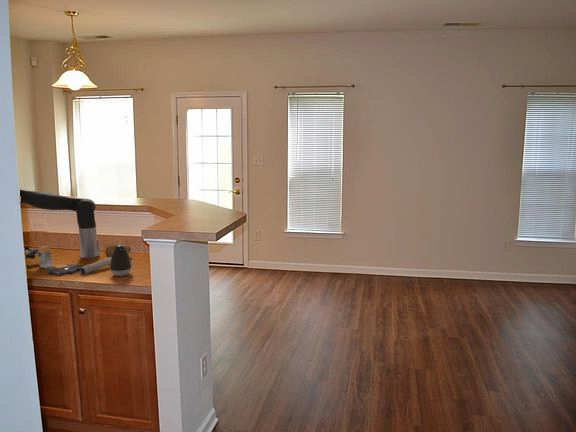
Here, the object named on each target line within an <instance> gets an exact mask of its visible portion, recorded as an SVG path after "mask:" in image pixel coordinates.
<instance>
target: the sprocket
mask: <svg viewBox="0 0 576 432" xmlns="http://www.w3.org/2000/svg"><path fill="white" fill-rule="evenodd" d="M82 267H83V266H82V264H73V263H68V264H57V265H54V266H51V267H48V268H46V274H47V275H48V276H49V275H55V276H57V277H58V276H60V277H61V276H62V275H74V274H75V273H77V272H80V268H82Z"/></svg>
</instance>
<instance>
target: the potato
mask: <svg viewBox="0 0 576 432" xmlns="http://www.w3.org/2000/svg"><path fill="white" fill-rule="evenodd" d="M119 245H121V246H124V247H125V248H126V250H127V252H128V254H130V253H131V251H132V249H131V246H130V245H129V244H126V243H112V244H108V245H106V247H105V256H106V257H107V258H110V257H112V253H113V250H114V249H115V247H116V246H119Z"/></svg>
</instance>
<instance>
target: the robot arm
mask: <svg viewBox="0 0 576 432" xmlns="http://www.w3.org/2000/svg"><path fill="white" fill-rule="evenodd" d="M19 189H20V196H21V203H22V204H27V205H29V206H31V207H34V208H36V209H41V210H47V211H71V212H72V211H73V212H75V213H76V221H77V225H78V236H79V238H78V239H79V249H80V258H82V259H92V258H93V259H94V258H97V257H98V256H100V244H99V243H100V242H99V238H98V237H97V236H98V235H97V234H98V233H97V224H96V219H95V210H96V206H97V205H96V203H95V202H94V201H93V200H92V199H90V198H79V197H78V198H77V197H69V196H64V195H59V194H55V193H50V192H43V191H34V190H25V189H21V188H19ZM21 203H20V204H21ZM24 246H25V254H26V259H25V260H27V259H34V260H35V259H36V256H38V257H39V251H38V247H36V248H30V247H29V246H27V245H24Z"/></svg>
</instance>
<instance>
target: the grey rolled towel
mask: <svg viewBox="0 0 576 432" xmlns="http://www.w3.org/2000/svg"><path fill="white" fill-rule="evenodd" d="M110 262H111V257H110V258H108V257H107V258H104V259H101V260H98V261H95V262H93V263H90V264H86V265H84V266H81V267H82V268H80V271H79V272H80V274H81V275H83V276H85V275H87V274H91V273H93V272H95V271H97V270H99V269H101V268H104V267H106V266H108V265H110Z"/></svg>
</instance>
